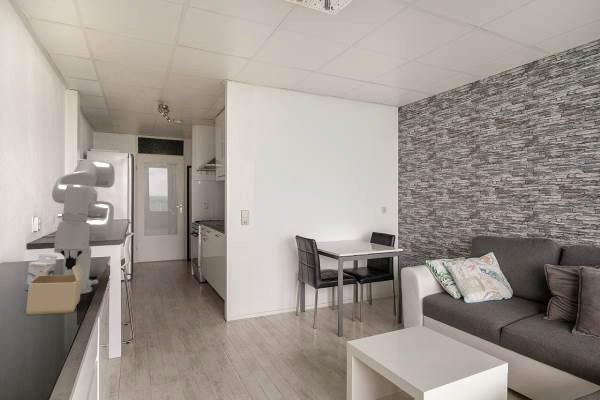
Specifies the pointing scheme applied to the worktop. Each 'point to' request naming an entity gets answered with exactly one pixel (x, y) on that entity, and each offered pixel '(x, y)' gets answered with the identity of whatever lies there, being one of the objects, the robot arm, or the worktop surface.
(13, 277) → the worktop surface
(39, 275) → the flap
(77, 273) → the flap
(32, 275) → the ink box
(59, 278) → the carton
